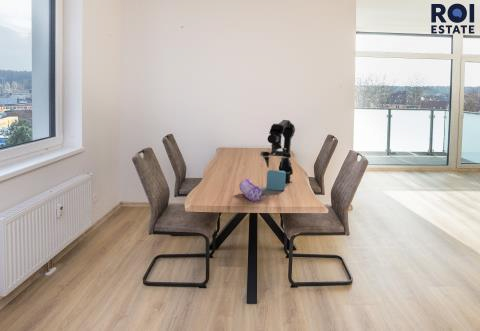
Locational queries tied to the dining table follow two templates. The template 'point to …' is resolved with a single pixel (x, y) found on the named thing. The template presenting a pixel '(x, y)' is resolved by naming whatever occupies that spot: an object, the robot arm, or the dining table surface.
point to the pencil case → (250, 190)
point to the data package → (276, 180)
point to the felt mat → (269, 191)
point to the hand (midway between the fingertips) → (274, 167)
